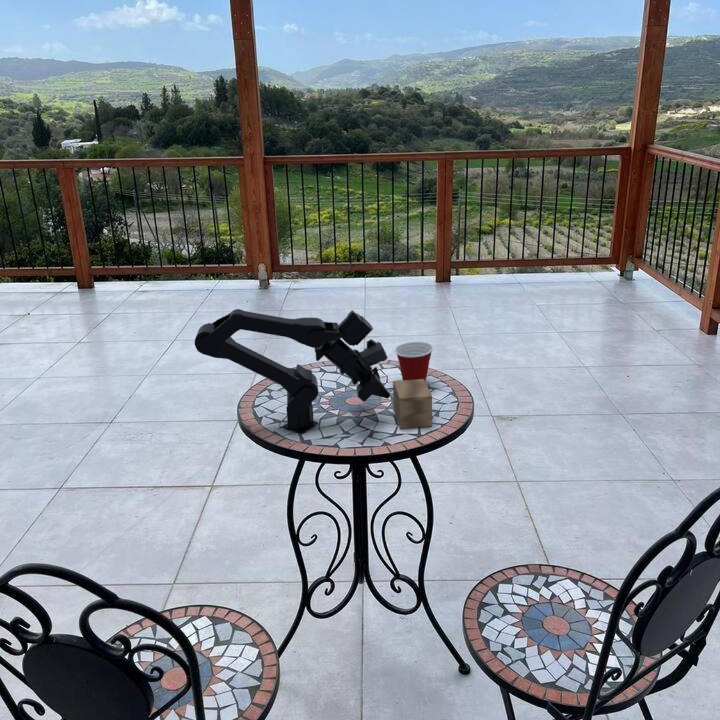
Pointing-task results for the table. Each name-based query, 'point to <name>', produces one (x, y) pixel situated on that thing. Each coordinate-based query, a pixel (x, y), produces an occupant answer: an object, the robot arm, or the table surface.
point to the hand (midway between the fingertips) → (389, 396)
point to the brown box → (412, 403)
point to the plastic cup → (414, 359)
